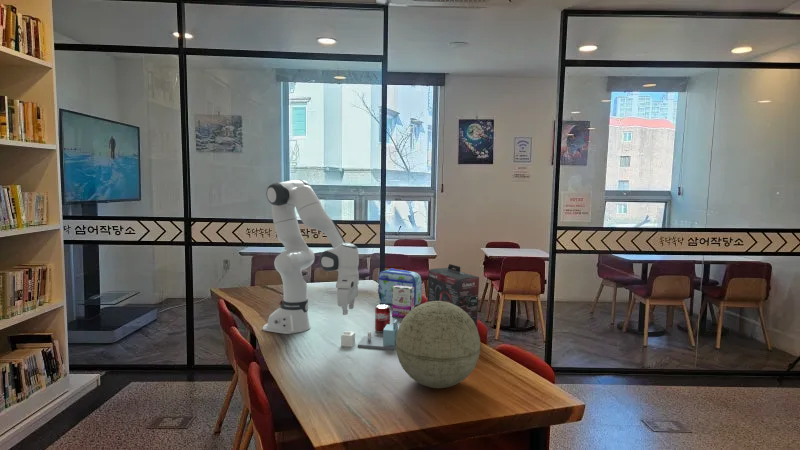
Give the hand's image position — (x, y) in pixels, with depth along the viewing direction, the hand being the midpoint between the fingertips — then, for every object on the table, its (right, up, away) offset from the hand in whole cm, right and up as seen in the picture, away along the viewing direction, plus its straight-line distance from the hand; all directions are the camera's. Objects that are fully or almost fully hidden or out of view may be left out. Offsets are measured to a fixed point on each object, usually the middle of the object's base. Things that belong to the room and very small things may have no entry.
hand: (348, 311), depth 202 cm
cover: (+18, -14, +1) cm, 23 cm away
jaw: (0, -15, +1) cm, 15 cm away
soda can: (+14, -14, +21) cm, 29 cm away
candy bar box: (+24, -12, +45) cm, 52 cm away
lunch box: (+22, -9, +68) cm, 72 cm away
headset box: (+47, -14, +19) cm, 53 cm away
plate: (+13, -15, +2) cm, 20 cm away
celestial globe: (+36, -19, -37) cm, 55 cm away
